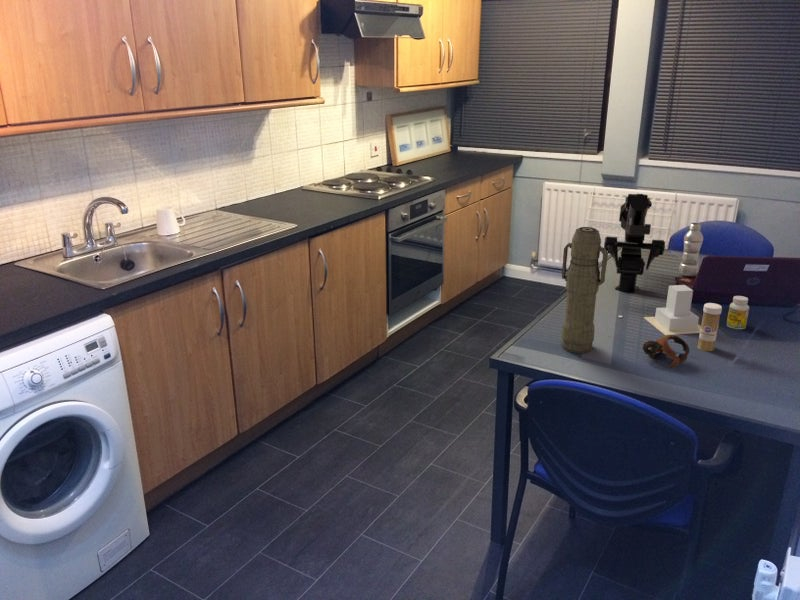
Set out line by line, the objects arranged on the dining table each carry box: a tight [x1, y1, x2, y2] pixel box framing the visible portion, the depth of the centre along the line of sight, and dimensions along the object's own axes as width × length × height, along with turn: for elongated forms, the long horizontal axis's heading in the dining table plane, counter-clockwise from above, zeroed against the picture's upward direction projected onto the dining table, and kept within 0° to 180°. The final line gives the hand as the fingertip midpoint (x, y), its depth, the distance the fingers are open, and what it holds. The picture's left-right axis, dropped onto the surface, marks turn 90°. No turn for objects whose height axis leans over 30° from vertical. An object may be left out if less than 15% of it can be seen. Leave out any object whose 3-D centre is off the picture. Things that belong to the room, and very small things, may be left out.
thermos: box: [561, 226, 609, 354], centre depth 181 cm, size 9×12×35 cm
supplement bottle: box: [726, 295, 750, 330], centre depth 196 cm, size 5×5×10 cm
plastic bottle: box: [678, 222, 704, 277], centre depth 240 cm, size 6×7×20 cm
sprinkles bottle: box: [696, 302, 723, 352], centre depth 181 cm, size 5×5×14 cm
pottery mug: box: [642, 335, 690, 368], centre depth 176 cm, size 12×10×8 cm
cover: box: [654, 284, 700, 331], centre depth 197 cm, size 9×9×12 cm
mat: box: [643, 316, 701, 336], centre depth 199 cm, size 14×14×1 cm
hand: (631, 268), depth 210 cm, fingers open, 9 cm apart
